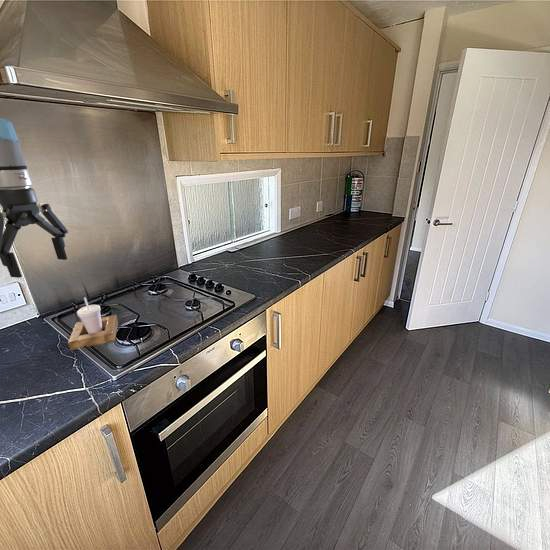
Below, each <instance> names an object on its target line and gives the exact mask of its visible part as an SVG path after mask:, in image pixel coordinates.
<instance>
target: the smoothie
mask: <svg viewBox="0 0 550 550" xmlns="http://www.w3.org/2000/svg"><path fill="white" fill-rule="evenodd" d="M83 300H84V303H85V306H83V307H80V308H79V309H78V310H77V311H76V315H77V317H79V318H80V322H83V324H84V326H85V328H86V330H87V332H86V333H87V334H91V333H96V332H101V331H104V330H103V328H102V321H101V318H102V315H101V311H102V308H101V305H99V304H89V302H88V299H87V297H86V296H84V297H83Z"/></svg>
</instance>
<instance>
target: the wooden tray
mask: <svg viewBox="0 0 550 550" xmlns="http://www.w3.org/2000/svg"><path fill="white" fill-rule="evenodd" d="M101 321H102V328H103V329H104V330H103V331H101V332H96V333H91V334H88V332H87V330H86V328H85V326H84V324H83V322H82V321H77V322H76V323H75V325H74V327H73V329H72V332H71V334H70V336H69V339H68V341H67V344H68V347H69V349H70V351H75V350H79V349H78V348H80V347H83V346H87V347H86V348H88V347H93V346H98V345H103V344H106V343H111V342H114V341H116V336H117V332H118V328H119V327H118V326H119V320H118V315H117V314H113V315H108V316H107V315H106V316H101ZM116 331H117V332H116ZM80 349H81V348H80Z"/></svg>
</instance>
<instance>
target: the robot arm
mask: <svg viewBox="0 0 550 550" xmlns="http://www.w3.org/2000/svg"><path fill="white" fill-rule="evenodd" d="M31 186H33V182H32V179H31V176H30V173H29V169H28V167H27V165H26V161H25V158H24V154H23V150H22V148H21V144H20V139H19V138H18V135H17V133H16V130H15V128H14V124H13V123H12V122H11V121H10V120H8V119H6V118H1V117H0V206H1V207H2V211H0V263H1V264H2V266H3V267H6V268H7V271H8V273H9V276H10V277H11V278H18V279H19V278H20V279H21V278H22V277H23V275H22V272H21V270H20V267H19V264H18V262H17V258H16V256H15V253H14V252H13V251H12V252H10V250H11V248H12V247H13V244H14V242H15V239H16V236H17V235H18V232H19V230H21V228H22V227H27V226H29V225H36V226H38V227H40V228H41V229H43V230H44V231H46V233H48V234H49V235H51V236H52V237H50V238H51V242H52V246H53V248H54V252H55V255H56V258H57V260H62V261H66V260H68V255H67V252H66V249H65V248H66V243H65V240H64V238H66V234H69V230H68V228H67V227H66V226H65V225H64V224H63V222H62V221H61V220H60V219H59V217H58V216H57V215H56V214H55V213H54V211H53V209H52V208H51V205H50V204H49V203H42V202H40V203H38V198H37V194H36V192H35V189H34V188H33V187H31ZM40 214H42V215H43V216H42V215H40ZM5 221H6V222H5ZM4 228H5V229H4Z"/></svg>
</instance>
